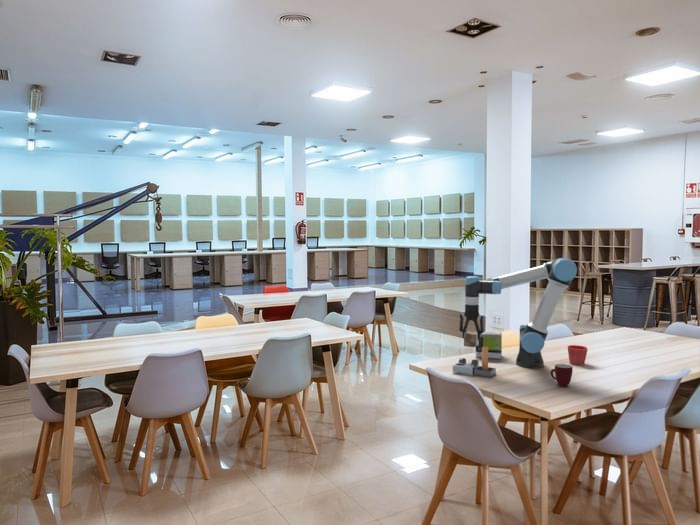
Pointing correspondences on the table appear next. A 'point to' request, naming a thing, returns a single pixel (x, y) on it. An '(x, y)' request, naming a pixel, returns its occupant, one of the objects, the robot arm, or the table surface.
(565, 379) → the mug
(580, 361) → the flower pot
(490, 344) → the retro computer monitor
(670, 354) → the table surface
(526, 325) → the robot arm
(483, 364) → the stop pin
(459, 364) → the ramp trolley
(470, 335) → the chock block
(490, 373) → the pin tray
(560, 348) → the table surface
